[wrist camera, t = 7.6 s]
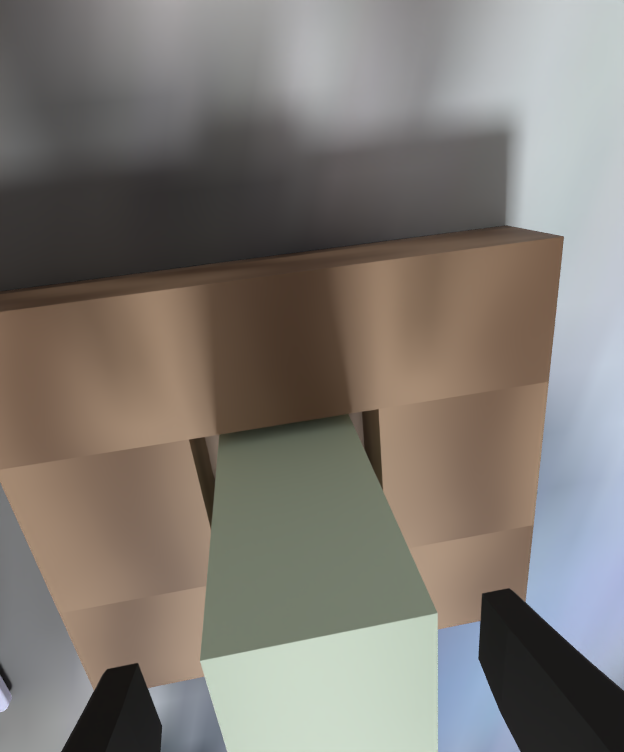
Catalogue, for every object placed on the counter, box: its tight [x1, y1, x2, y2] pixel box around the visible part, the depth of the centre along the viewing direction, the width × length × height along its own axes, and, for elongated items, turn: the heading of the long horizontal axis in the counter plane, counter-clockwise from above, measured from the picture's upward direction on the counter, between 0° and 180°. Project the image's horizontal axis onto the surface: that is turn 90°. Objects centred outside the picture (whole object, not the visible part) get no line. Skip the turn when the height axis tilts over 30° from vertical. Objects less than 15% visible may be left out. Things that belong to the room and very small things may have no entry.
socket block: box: [0, 226, 564, 690], centre depth 16 cm, size 16×14×3 cm
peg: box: [200, 414, 438, 752], centre depth 13 cm, size 4×4×9 cm
